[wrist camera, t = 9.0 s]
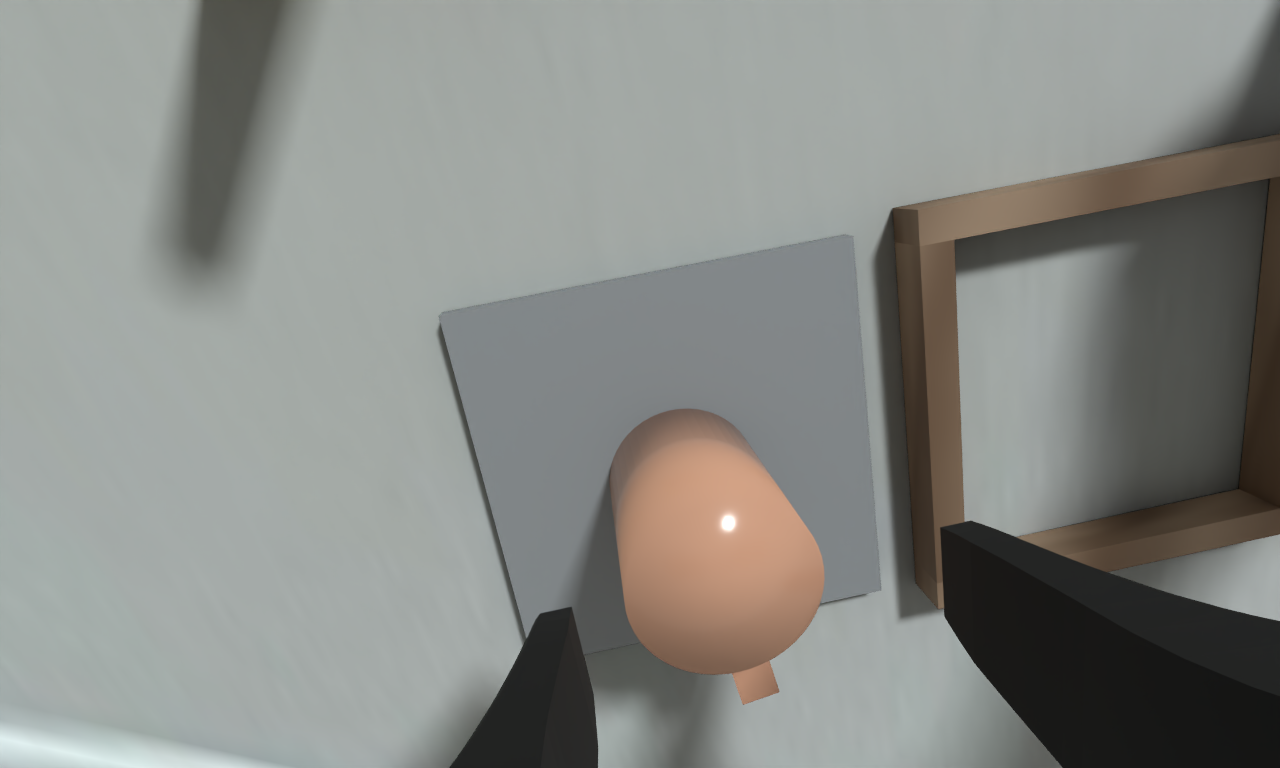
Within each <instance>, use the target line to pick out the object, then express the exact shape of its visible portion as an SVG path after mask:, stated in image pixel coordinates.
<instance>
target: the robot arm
mask: <svg viewBox="0 0 1280 768" xmlns="http://www.w3.org/2000/svg"><path fill="white" fill-rule="evenodd" d="M940 536H941V556H942V576H943V596H944V616H945V618H946V620H947V621H948V623H949V625H950V626H951V628H952V629H953V631H954V633H955V634H956V636H957V637H958V639H959V641H960V642H961V644H962V645H963V647H964V648H965V650H966V651H967V653H968V654H969V656H970V657H971V659H972V660H973V662H974V663H975V664H976V665H977V667H978V668H979V669H980V670H981V672H982V673H983V674H984V675H985V676H986V678H987V679H988V680H989V681H990V682H991V684H992V685H993V686H994V687H995V688H996V690H997V691H998V692H999V693H1000V694H1001V696H1002V697H1003V698H1004V699H1005V700H1006V701H1007V703H1008V704H1009V705H1010V706H1011V707H1012V708H1013V710H1014V711H1015V712H1016V713H1017V714H1018V716H1019V717H1020V718H1021V719H1022V720H1023V721H1024V723H1025V724H1026V725H1027V726H1028V727H1029V728H1030V730H1031V731H1032V732H1033V733H1034V734H1035V735H1036V737H1037V738H1038V739H1039V740H1040V741H1041V742H1042V744H1043V745H1044V746H1045V747H1046V748H1047V750H1048V751H1049V752H1050V753H1051V754H1052V755H1053V757H1054V758H1055V759H1056V760H1057V761H1058V762H1059V764H1060V765H1061V766H1062V767H1063V768H1280V621H1276V620H1272V619H1267V618H1262V617H1258V616H1253V615H1249V614H1245V613H1241V612H1237V611H1232V610H1228V609H1224V608H1221V607H1217V606H1213V605H1210V604H1206V603H1203V602H1199V601H1195V600H1192V599H1188V598H1184V597H1181V596H1177V595H1174V594H1171V593H1167V592H1164V591H1161V590H1158V589H1154V588H1151V587H1148V586H1145V585H1142V584H1139V583H1136V582H1133V581H1131V580H1128V579H1125V578H1122V577H1119V576H1116V575H1113V574H1110V573H1107V572H1105V571H1102V570H1099V569H1096V568H1094V567H1091V566H1088V565H1085V564H1083V563H1080V562H1078V561H1075V560H1072V559H1070V558H1067V557H1065V556H1062V555H1059V554H1057V553H1054V552H1052V551H1049V550H1047V549H1044V548H1042V547H1039V546H1037V545H1034V544H1032V543H1029V542H1027V541H1024V540H1022V539H1019V538H1017V537H1014V536H1012V535H1009V534H1006V533H1004V532H1001V531H999V530H996V529H993V528H991V527H988V526H985V525H982V524H979V523H976V522H973V521H967V522H963V523H958V524H953V525H949V526H944V527H940ZM450 768H598V740H597V728H596V717H595V706H594V695H593V691H592V687H591V683H590V679H589V674H588V670H587V666H586V662H585V658H584V654H583V650H582V646H581V642H580V638H579V634H578V630H577V626H576V622H575V618H574V614H573V610H572V607H567V608H563V609H558V610H553V611H549V612H544V613H540V614H539V615H538V617H537V618H536V620H535V622H534V624H533V626H532V628H531V630H530V633H529V635H528V637H527V639H526V641H525V643H524V645H523V647H522V649H521V651H520V653H519V655H518V657H517V659H516V661H515V663H514V665H513V667H512V669H511V671H510V672H509V674H508V676H507V678H506V680H505V682H504V683H503V685H502V687H501V689H500V691H499V692H498V694H497V696H496V698H495V699H494V701H493V703H492V704H491V706H490V708H489V709H488V711H487V712H486V714H485V716H484V717H483V719H482V720H481V722H480V724H479V725H478V727H477V728H476V730H475V732H474V733H473V735H472V736H471V738H470V739H469V741H468V742H467V744H466V745H465V747H464V748H463V750H462V751H461V752H460V754H459V755H458V757H457V758H456V759H455V761H454V762H453V764H452V765H451V766H450Z"/></svg>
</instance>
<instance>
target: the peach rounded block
mask: <svg viewBox="0 0 1280 768" xmlns="http://www.w3.org/2000/svg"><path fill="white" fill-rule="evenodd" d="M609 486H610V494H611V501H612V509H613V517H614V525H615V533H616V540H617V548H618V556H619V564H620V572H621V580H622V587H623V595H624V603H625V609H626V614H627V617H628V620H629V623H630V625H631V627H632V629H633V631H634V633H635V635H636V636H637V637H638V639H639V640H640V642H641V643H642V644H643V645H644V646H645V647H646V648H647V649H648V650H649V651H650V652H651V653H652V654H654V655H655V656H656V657H657V658H659V659H660V660H662V661H664V662H665V663H667V664H669V665H672V666H674V667H676V668H678V669H682V670H685V671H689V672H693V673H699V674H712V675H717V674H729V673H732V675H733V677H734V680H735V683H736V686H737V689H738V692H739V695H740V697H741V700H742V703H743V705H744V704H747V703H749V702H752V701H755V700H758V699H761V698H764V697H767V696H770V695H773V694H775V693H778V692H779V689H778V686H777V683H776V680H775V677H774V674H773V670H772V667H771V664H770V661H769V660H771V659H773V658H775V657H776V656H778V655H779V654H781V653H782V652H784V651H785V650H786V649H787V648H789V647H790V646H791V645H792V644H793V643H794V642H795V641H796V640H797V639H798V638H799V637H800V636H801V635H802V634H803V633H804V631H805V630H806V628H807V627H808V626H809V624H810V623H811V621H812V619H813V617H814V616H815V614H816V612H817V609H818V607H819V604H820V602H821V598H822V594H823V589H824V579H825V578H824V565H823V560H822V555H821V552H820V550H819V547H818V545H817V543H816V541H815V539H814V537H813V535H812V534H811V532H810V531H809V530H808V528H807V527H806V525H805V524H804V522H803V521H802V520H801V518H800V517H799V515H798V514H797V512H796V511H795V509H794V508H793V507H792V505H791V504H790V502H789V501H788V499H787V498H786V496H785V495H784V494H783V492H782V491H781V489H780V488H779V486H778V485H777V483H776V482H775V481H774V479H773V478H772V476H771V475H770V473H769V472H768V471H767V469H766V468H765V466H764V465H763V463H762V462H761V460H760V459H759V458H758V456H757V455H756V453H755V452H754V450H753V449H752V447H751V446H750V445H749V443H748V442H747V440H746V439H745V437H744V436H743V435H742V434H741V432H740V431H739V430H738V429H737V428H736V427H735V426H734V425H733V424H731V423H730V422H729V421H727V420H726V419H724V418H722V417H720V416H719V415H716V414H714V413H711V412H708V411H704V410H699V409H675V410H669V411H666V412H662V413H659V414H657V415H654V416H652V417H650V418H648V419H647V420H645V421H643V422H642V423H640V424H639V425H638V426H636V427H635V428H634V429H633V430H632V431H631V432H630V433H629V434H628V435H627V436H626V437H625V439H624V440H623V441H622V442H621V444H620V446H619V447H618V449H617V451H616V453H615V456H614V458H613V461H612V464H611V469H610V476H609Z"/></svg>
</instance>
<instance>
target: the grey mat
mask: <svg viewBox="0 0 1280 768" xmlns="http://www.w3.org/2000/svg"><path fill="white" fill-rule="evenodd" d="M439 320H440V323H441V327H442V331H443V334H444V338H445V342H446V345H447V349H448V353H449V356H450V360H451V364H452V367H453V371H454V375H455V378H456V382H457V386H458V389H459V393H460V397H461V400H462V404H463V408H464V411H465V415H466V419H467V422H468V426H469V430H470V433H471V437H472V441H473V444H474V448H475V452H476V455H477V459H478V463H479V466H480V470H481V474H482V477H483V481H484V485H485V488H486V492H487V496H488V499H489V503H490V507H491V510H492V514H493V518H494V521H495V525H496V529H497V532H498V536H499V540H500V543H501V547H502V551H503V554H504V558H505V562H506V565H507V569H508V573H509V576H510V580H511V584H512V587H513V591H514V595H515V598H516V602H517V606H518V609H519V613H520V617H521V620H522V624H523V628H524V631H525V635H526V639H527V637H528V635H529V633H530V630H531V628H532V626H533V624H534V622H535V620H536V618H537V617H538V615H539V614H540V613H544V612H549V611H553V610H558V609H563V608H567V607H572V610H573V614H574V618H575V622H576V626H577V630H578V634H579V638H580V642H581V646H582V650H583V654H584V655H586V654H590V653H595V652H600V651H604V650H609V649H613V648H618V647H623V646H627V645H632V644H636V643H641V642H640V640H639V639H638V637H637V636H636V635H635V633H634V631H633V629H632V627H631V625H630V623H629V620H628V617H627V614H626V609H625V603H624V595H623V587H622V580H621V572H620V564H619V556H618V548H617V540H616V533H615V525H614V517H613V509H612V501H611V494H610V486H609V476H610V469H611V464H612V461H613V458H614V456H615V453H616V451H617V449H618V447H619V446H620V444H621V442H622V441H623V440H624V439H625V437H626V436H627V435H628V434H629V433H630V432H631V431H632V430H633V429H634V428H635V427H636V426H638V425H639V424H640V423H642V422H643V421H645V420H647V419H648V418H650V417H652V416H654V415H657V414H659V413H662V412H666V411H669V410H675V409H699V410H704V411H708V412H711V413H714V414H716V415H719V416H720V417H722V418H724V419H726V420H727V421H729V422H730V423H731V424H733V425H734V426H735V427H736V428H737V429H738V430H739V431H740V432H741V434H742V435H743V436H744V437H745V439H746V440H747V442H748V443H749V445H750V446H751V447H752V449H753V450H754V452H755V453H756V455H757V456H758V458H759V459H760V460H761V462H762V463H763V465H764V466H765V468H766V469H767V471H768V472H769V473H770V475H771V476H772V478H773V479H774V481H775V482H776V483H777V485H778V486H779V488H780V489H781V491H782V492H783V494H784V495H785V496H786V498H787V499H788V501H789V502H790V504H791V505H792V507H793V508H794V509H795V511H796V512H797V514H798V515H799V517H800V518H801V520H802V521H803V522H804V524H805V525H806V527H807V528H808V530H809V531H810V532H811V534H812V535H813V537H814V539H815V541H816V543H817V545H818V547H819V550H820V552H821V555H822V560H823V565H824V578H825V579H824V589H823V594H822V598H821V602H820V603H825V602H829V601H834V600H839V599H843V598H848V597H852V596H857V595H862V594H866V593H871V592H875V591H880V590H881V578H880V566H879V553H878V541H877V528H876V516H875V503H874V491H873V478H872V466H871V454H870V441H869V429H868V416H867V404H866V391H865V379H864V366H863V354H862V341H861V329H860V316H859V304H858V291H857V279H856V266H855V254H854V242H853V236H849V235H841V236H836V237H830V238H825V239H820V240H815V241H810V242H805V243H799V244H794V245H789V246H784V247H779V248H773V249H768V250H763V251H758V252H753V253H748V254H742V255H737V256H732V257H727V258H722V259H716V260H711V261H706V262H701V263H696V264H691V265H685V266H680V267H675V268H670V269H665V270H659V271H654V272H649V273H644V274H639V275H633V276H628V277H623V278H618V279H613V280H608V281H602V282H597V283H592V284H587V285H582V286H576V287H571V288H566V289H561V290H556V291H551V292H545V293H540V294H535V295H530V296H525V297H519V298H514V299H509V300H504V301H499V302H494V303H488V304H483V305H478V306H473V307H468V308H462V309H457V310H452V311H447V312H442V313H441V314H440V315H439Z"/></svg>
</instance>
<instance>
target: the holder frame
mask: <svg viewBox="0 0 1280 768" xmlns="http://www.w3.org/2000/svg"><path fill="white" fill-rule="evenodd" d="M1269 178H1270V184H1269V194H1268V204H1267V214H1266V224H1265V234H1264V244H1263V254H1262V263H1261V273H1260V283H1259V293H1258V303H1257V313H1256V323H1255V333H1254V343H1253V352H1252V362H1251V372H1250V382H1249V392H1248V402H1247V412H1246V422H1245V432H1244V441H1243V451H1242V461H1241V471H1240V481H1239V489H1236V490H1232V491H1227V492H1223V493H1218V494H1213V495H1209V496H1204V497H1199V498H1195V499H1190V500H1185V501H1181V502H1176V503H1172V504H1167V505H1162V506H1158V507H1153V508H1148V509H1144V510H1139V511H1134V512H1130V513H1125V514H1121V515H1116V516H1111V517H1107V518H1102V519H1097V520H1093V521H1088V522H1084V523H1079V524H1074V525H1070V526H1065V527H1060V528H1056V529H1051V530H1046V531H1042V532H1037V533H1033V534H1028V535H1023V536H1019V537H1017V538H1019V539H1022V540H1024V541H1027V542H1029V543H1032V544H1034V545H1037V546H1039V547H1042V548H1044V549H1047V550H1049V551H1052V552H1054V553H1057V554H1059V555H1062V556H1065V557H1067V558H1070V559H1072V560H1075V561H1078V562H1080V563H1083V564H1085V565H1088V566H1091V567H1094V568H1096V569H1099V570H1102V571H1105V572H1110V571H1114V570H1119V569H1124V568H1128V567H1133V566H1137V565H1142V564H1146V563H1151V562H1155V561H1160V560H1165V559H1169V558H1174V557H1178V556H1183V555H1187V554H1192V553H1196V552H1201V551H1206V550H1210V549H1215V548H1219V547H1224V546H1228V545H1233V544H1237V543H1242V542H1247V541H1251V540H1256V539H1260V538H1265V537H1269V536H1274V535H1278V534H1280V134H1277V135H1272V136H1267V137H1261V138H1256V139H1251V140H1246V141H1240V142H1235V143H1230V144H1225V145H1220V146H1214V147H1209V148H1204V149H1199V150H1194V151H1188V152H1183V153H1178V154H1173V155H1167V156H1162V157H1157V158H1152V159H1147V160H1141V161H1136V162H1131V163H1126V164H1120V165H1115V166H1110V167H1105V168H1100V169H1094V170H1089V171H1084V172H1079V173H1074V174H1068V175H1063V176H1058V177H1053V178H1047V179H1042V180H1037V181H1032V182H1027V183H1021V184H1016V185H1011V186H1006V187H1001V188H995V189H990V190H985V191H980V192H974V193H969V194H964V195H959V196H954V197H948V198H943V199H938V200H933V201H927V202H922V203H917V204H912V205H907V206H901V207H896V208H893V223H894V239H895V255H896V271H897V287H898V303H899V319H900V335H901V352H902V368H903V384H904V400H905V416H906V432H907V448H908V465H909V481H910V497H911V513H912V529H913V545H914V561H915V578H916V584H917V585H918V586H919V588H920V589H921V590H922V591H923V592H924V593H925V595H926V596H927V597H928V598H929V599H930V600H931V601H932V603H933V604H934V605H935V606H936V607H937V608H938V609H941V608H944V596H943V576H942V556H941V536H940V527H944V526H949V525H953V524H958V523H963V522H964V498H963V469H962V441H961V413H960V385H959V357H958V329H957V301H956V273H955V245H954V240H955V239H960V238H965V237H971V236H976V235H981V234H986V233H991V232H996V231H1001V230H1007V229H1012V228H1017V227H1022V226H1027V225H1032V224H1037V223H1043V222H1048V221H1053V220H1058V219H1063V218H1068V217H1073V216H1078V215H1084V214H1089V213H1094V212H1099V211H1104V210H1109V209H1114V208H1120V207H1125V206H1130V205H1135V204H1140V203H1145V202H1150V201H1156V200H1161V199H1166V198H1171V197H1176V196H1181V195H1186V194H1191V193H1197V192H1202V191H1207V190H1212V189H1217V188H1222V187H1227V186H1233V185H1238V184H1243V183H1248V182H1253V181H1258V180H1263V179H1269Z"/></svg>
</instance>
